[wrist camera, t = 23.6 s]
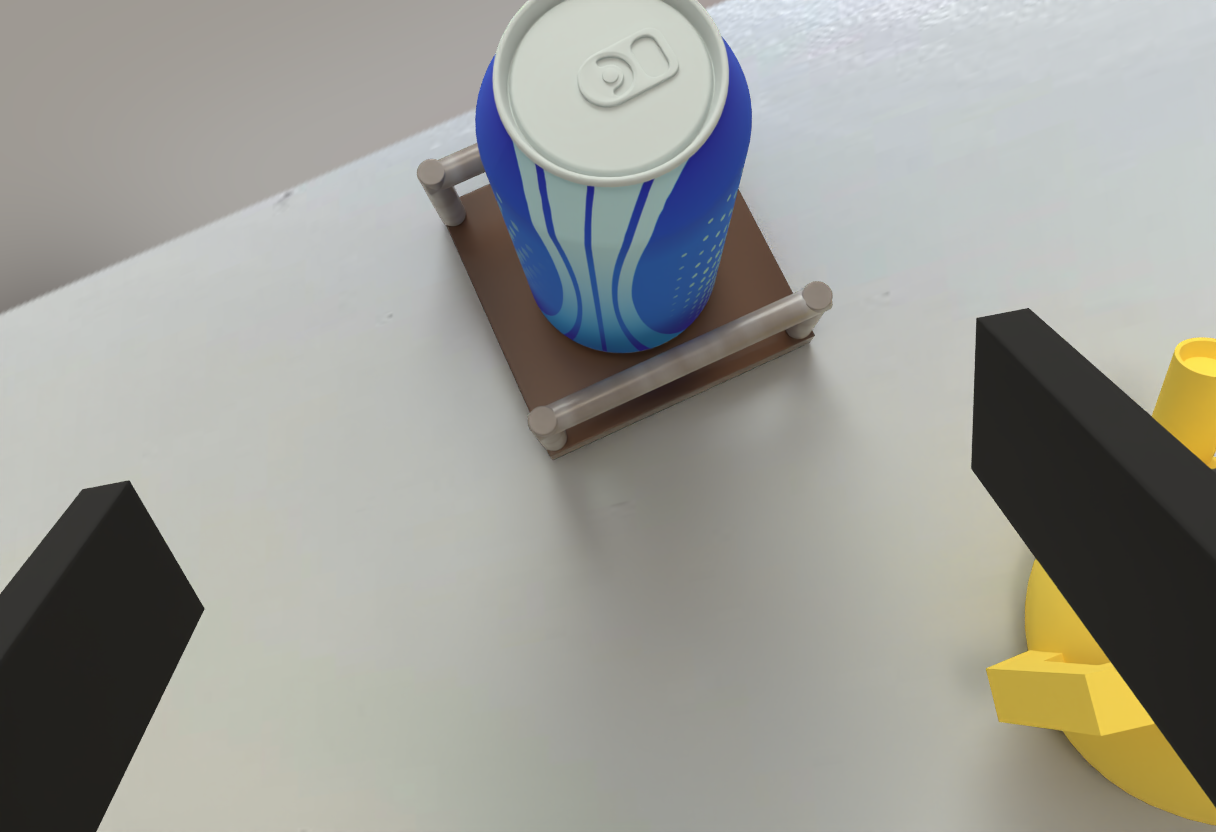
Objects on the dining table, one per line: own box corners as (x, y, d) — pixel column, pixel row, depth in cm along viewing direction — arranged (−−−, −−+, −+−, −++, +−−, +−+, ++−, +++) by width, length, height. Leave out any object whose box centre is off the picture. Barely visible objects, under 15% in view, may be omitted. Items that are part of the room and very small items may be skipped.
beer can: (697, 375, 39) (736, 238, 23) (513, 343, 39) (428, 188, 24) (728, 200, 40) (784, -40, 25) (550, 171, 41) (493, -82, 25)
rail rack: (550, 461, 40) (535, 442, 34) (441, 217, 42) (411, 163, 36) (812, 341, 40) (839, 304, 35) (690, 107, 43) (697, 37, 37)
